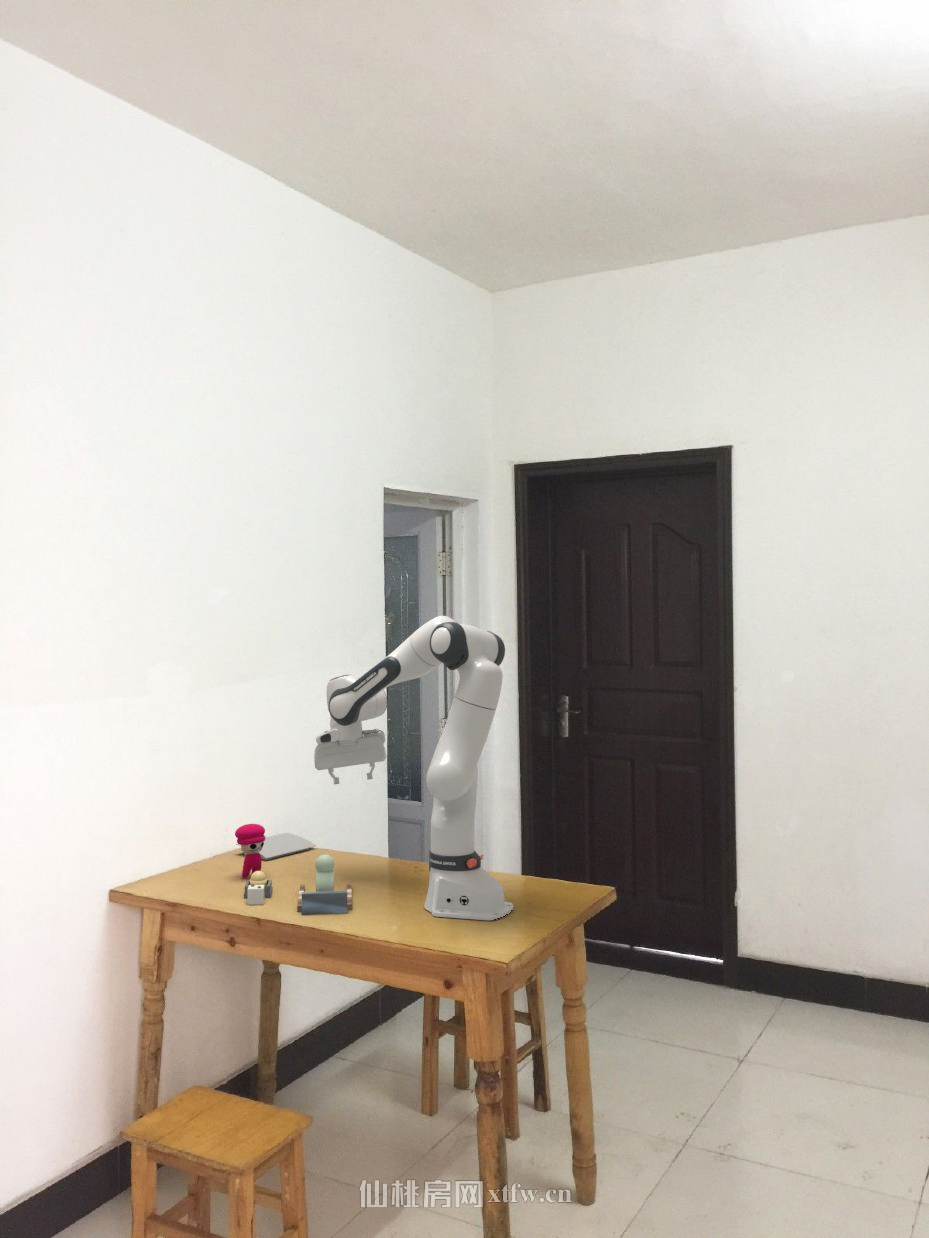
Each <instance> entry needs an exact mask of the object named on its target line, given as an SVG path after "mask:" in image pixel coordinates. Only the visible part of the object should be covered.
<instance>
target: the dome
mask: <svg viewBox="0 0 929 1238" xmlns="http://www.w3.org/2000/svg"><path fill="white" fill-rule="evenodd" d="M249 880H250V885H252V884H254V885H267V880H268V878H267V876H266V874H265V872H264V871H262V870H261V871H255V872H254V873H253V874H252V873H251V875H250V878H249Z"/></svg>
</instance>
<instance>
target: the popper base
mask: <svg viewBox="0 0 929 1238" xmlns="http://www.w3.org/2000/svg"><path fill="white" fill-rule="evenodd" d="M272 884H273V883H272V879H267V885H265V899H271V898H272V894H273V888H274V887H273V886H272ZM249 885H250V879H249V880H246V882H245V885H244V892H243V899H244V900H245V899H248V897H247V889H248V886H249Z"/></svg>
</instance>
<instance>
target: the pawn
mask: <svg viewBox="0 0 929 1238" xmlns="http://www.w3.org/2000/svg"><path fill="white" fill-rule="evenodd" d="M314 865H315V869H316V870H315V892H322V891H335V869H334V868H335V861H334V858H333V857H332V856H331V855H329V854H321V855H319V856H318V857H317V858H316V860H315V864H314Z"/></svg>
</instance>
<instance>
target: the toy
mask: <svg viewBox="0 0 929 1238" xmlns="http://www.w3.org/2000/svg"><path fill="white" fill-rule="evenodd" d="M265 833H266V829H265V827H264V826H263V825H260V824H258V823H247V824H244V825H240V826H239V827H238V828H237V829H236V830H235V832H234V836H235V838H236V844H240V845H241V846H240V845H239V846H240V848H241V847H242V849H243V851H242V852H243V853H244V852H246V853H248V854H247V855H244V856H245V857H244V860H243V863H242V864H243V866H242V870H241V871H242V872H241V878H242V879H247V878H248V877H249V876H250V874H251V875H252V874H253V873H254V872H255V871H262V863H263V862H262V860H263V859H262V857H261V855H260V853H258V852H260V851H261V850H262V848H263V845H264V841H265V837H266V835H264V834H265Z"/></svg>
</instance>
